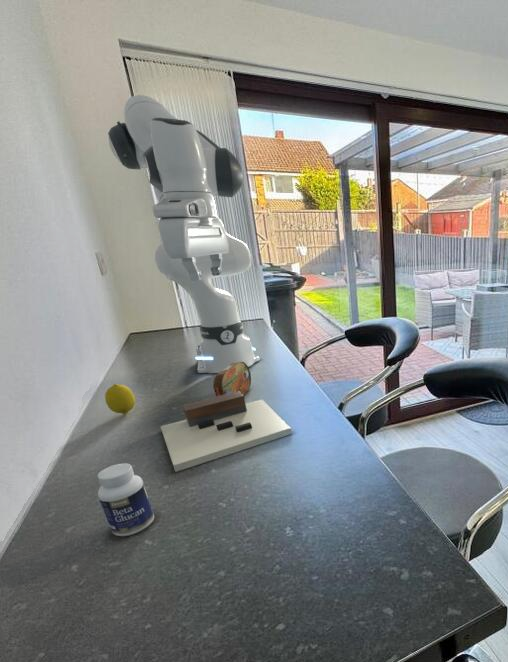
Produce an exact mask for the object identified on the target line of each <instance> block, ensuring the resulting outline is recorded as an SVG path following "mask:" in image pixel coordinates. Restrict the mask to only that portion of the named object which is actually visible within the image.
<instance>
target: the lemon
mask: <svg viewBox="0 0 508 662" xmlns="http://www.w3.org/2000/svg"><path fill="white" fill-rule="evenodd" d="M104 396H105V397H104V400H105V403H106V407H108V408H109V410H110V411H112V412H113V413H117V414H122V415H127V414H128V413H129V412H130V411H131V410H132V409H133V408H134V406H135V404H136V397H135V395H134V392H133V391H132V389H130V388H129V387H128V386H126V385H124V384H118V383H114V384H113V385H111V386H110V387H109V388H108V389H107V390H106V392H105V395H104Z"/></svg>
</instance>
